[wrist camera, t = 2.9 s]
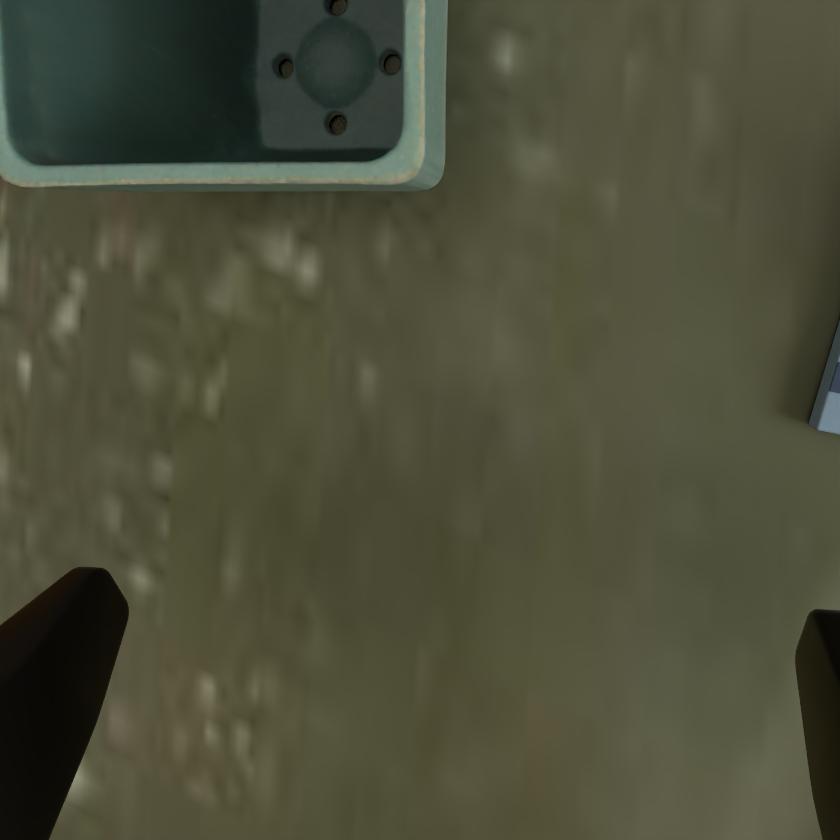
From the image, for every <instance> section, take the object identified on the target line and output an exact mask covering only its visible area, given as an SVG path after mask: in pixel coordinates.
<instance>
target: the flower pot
mask: <svg viewBox="0 0 840 840" xmlns="http://www.w3.org/2000/svg"><path fill="white" fill-rule="evenodd" d="M331 1H332V0H0V176H1V177H2V179H3V180H4V181H6V182H8V183H11V184H13V185H16V186H20V187H42V188H60V189H78V190H101V191H126V192H154V193H156V192H242V191H423V190H427V189H431V188H432V187H434V186H435V185H436V184H438V182H439V181H440V180H441V178H442V176H443V172H444V165H445V112H446V54H447V15H448V0H346V3H347V8H346V10H345V11H344V12H343V13H342V14H341V15H335V14H333V13H332V12H331V10H330V3H331ZM390 54H395V55H397V56H398V57H399V58H400V63H401V65H400V68H399V70H398V71H397V72H396V73H388V72H386V71H385V70H384V67H383V64H384V60H385V58H386V57H387V56H388V55H390ZM284 59H289V60H291V61H292V63H293V67H294V68H293V72H292V74H291V75H290V76H289V77H282V76H281V75H280V73H279V64H280V62H281V61H283V60H284ZM336 115H341V116H343V117H344V118H345V120H346V128H345V130H344V131H343V132H342V133H341V134H334V133H333V132H332V131H331V129H330V128H329V124H330V121H331V119H332V118H333V117H334V116H336Z"/></svg>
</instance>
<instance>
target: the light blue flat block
mask: <svg viewBox="0 0 840 840" xmlns="http://www.w3.org/2000/svg"><path fill="white" fill-rule="evenodd" d="M809 425H811V426H812V427H814V428H815V429H817V430H820V431H825V432H830V433H835V434H840V321H839V324H838V327H837V331H836V334H835V337H834V341H833V344H832V347H831V351H830V354H829V357H828V361H827V364H826V367H825V371H824V374H823V377H822V381H821V384H820V388H819V391H818V394H817V398H816V401H815V404H814V408H813V411H812V414H811V418H810V421H809Z"/></svg>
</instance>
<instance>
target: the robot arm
mask: <svg viewBox="0 0 840 840" xmlns="http://www.w3.org/2000/svg"><path fill="white" fill-rule="evenodd" d="M128 615H129V607H128V603H127V601H126V599H125V597H124V596H123V594H122V593H121V591H120V589H119V588H118V586H117V584H116V583H115V581H114V579H113V578H112V576H111V574H110V573H109V572H108V571H107V570H105V569H104V568H96V567H78V568H75V569H73V570H71V571H70V572H68V573H67V574H65V575H64V576H63V577H62V578H60V579H59V580H58V581H57V582H55V583H54V584H53V585H51V586H50V587H49V588H48V589H46V590H45V591H44V592H42V593H41V594H40V595H39V596H37V597H36V598H35V599H33V600H32V601H31V602H30V603H28V604H27V605H26V606H24V607H23V608H22V609H21V610H19V611H18V612H17V613H15V614H14V615H13V616H12V617H10V618H9V619H8V620H6V621H5V622H4V623H3V624H1V625H0V840H49V838H50V835H51V833H52V830H53V828H54V826H55V823H56V821H57V818H58V816H59V813H60V811H61V809H62V806H63V804H64V801H65V799H66V796H67V794H68V792H69V789H70V787H71V784H72V782H73V780H74V777H75V775H76V772H77V770H78V767H79V765H80V763H81V760H82V758H83V755H84V753H85V750H86V748H87V746H88V743H89V741H90V738H91V736H92V733H93V730H94V728H95V725H96V723H97V720H98V717H99V714H100V711H101V708H102V705H103V701H104V698H105V695H106V691H107V688H108V685H109V681H110V678H111V675H112V671H113V668H114V665H115V661H116V658H117V655H118V651H119V648H120V645H121V641H122V638H123V635H124V631H125V628H126V625H127V621H128ZM795 664H796V674H797V682H798V690H799V697H800V705H801V712H802V720H803V728H804V735H805V743H806V750H807V758H808V766H809V773H810V780H811V787H812V794H813V800H814V804H815V809H816V813H817V818H818V822H819V826H820V830H821V834H822V838H823V840H840V611H839V610H822V609H815V610H813V611H811V612H810V613H809V615H808V617H807V620H806V623H805V626H804V629H803V631H802V634H801V637H800V640H799V643H798V646H797V649H796V657H795Z"/></svg>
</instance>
